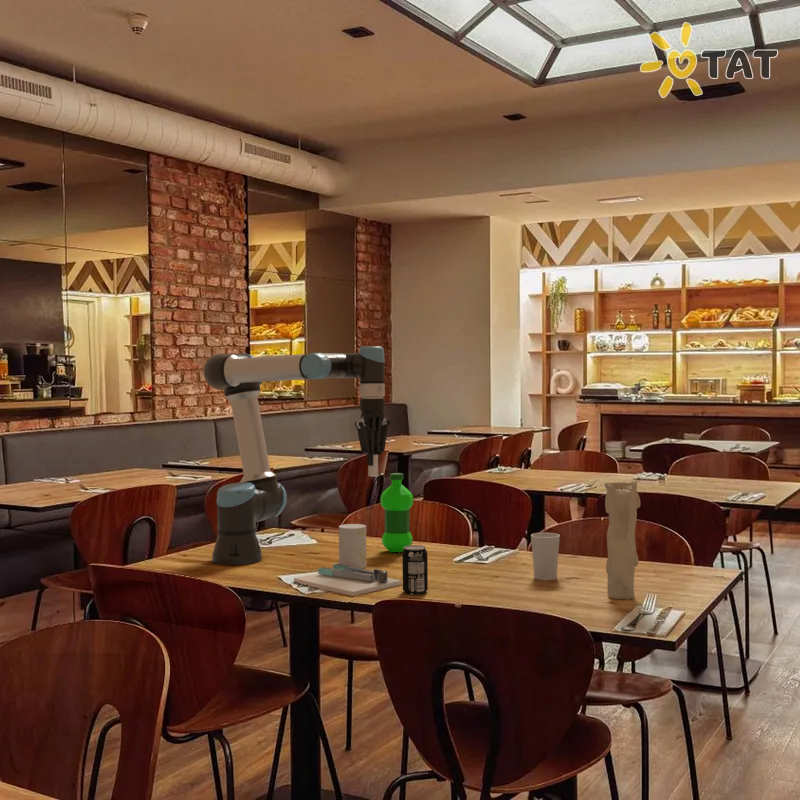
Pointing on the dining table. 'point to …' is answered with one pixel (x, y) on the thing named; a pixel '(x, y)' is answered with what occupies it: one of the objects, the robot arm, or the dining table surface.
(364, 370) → the robot arm
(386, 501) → the plastic bottle
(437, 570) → the dining table surface
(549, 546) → the cup
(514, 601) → the dining table surface
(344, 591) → the rest board
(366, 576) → the bar
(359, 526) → the cup
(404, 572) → the beverage can
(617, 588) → the beige lumpy column
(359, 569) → the tongs fixed
